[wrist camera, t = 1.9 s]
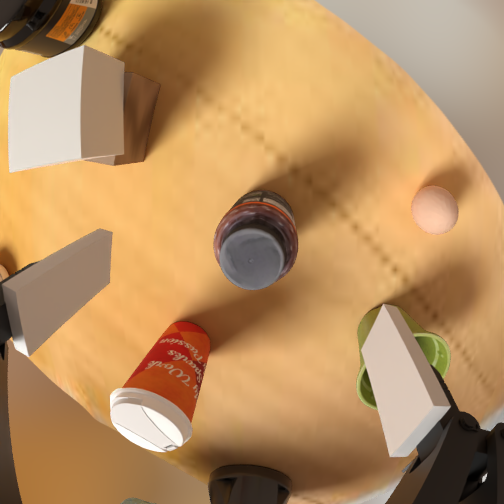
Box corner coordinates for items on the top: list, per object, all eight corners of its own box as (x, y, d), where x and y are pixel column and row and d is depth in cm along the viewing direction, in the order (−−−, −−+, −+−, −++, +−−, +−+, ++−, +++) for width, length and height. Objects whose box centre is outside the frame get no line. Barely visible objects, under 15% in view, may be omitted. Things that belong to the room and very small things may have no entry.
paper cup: (233, 347, 34) (207, 443, 21) (190, 374, 36) (155, 461, 23) (184, 299, 33) (131, 384, 20) (144, 333, 35) (89, 412, 22)
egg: (446, 214, 27) (474, 228, 21) (412, 233, 28) (436, 251, 23) (432, 175, 26) (460, 181, 20) (396, 194, 27) (420, 204, 22)
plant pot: (365, 278, 30) (389, 322, 22) (433, 301, 30) (467, 344, 22) (329, 350, 33) (338, 403, 25) (396, 365, 33) (416, 415, 25)
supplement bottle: (258, 261, 31) (243, 321, 20) (219, 214, 29) (181, 252, 19) (307, 225, 29) (319, 270, 18) (267, 175, 28) (257, 191, 17)
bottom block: (143, 161, 29) (113, 165, 23) (82, 151, 29) (47, 154, 23) (160, 84, 26) (133, 72, 20) (97, 80, 26) (63, 72, 20)
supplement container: (123, -4, 22) (63, -46, 11) (70, 71, 26) (-5, 56, 14) (74, -20, 21) (17, -50, 10) (29, 46, 24) (-36, 33, 13)
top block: (124, 154, 22) (81, 158, 17) (54, 164, 23) (9, 172, 18) (124, 62, 20) (84, 45, 14) (54, 83, 21) (10, 77, 15)
